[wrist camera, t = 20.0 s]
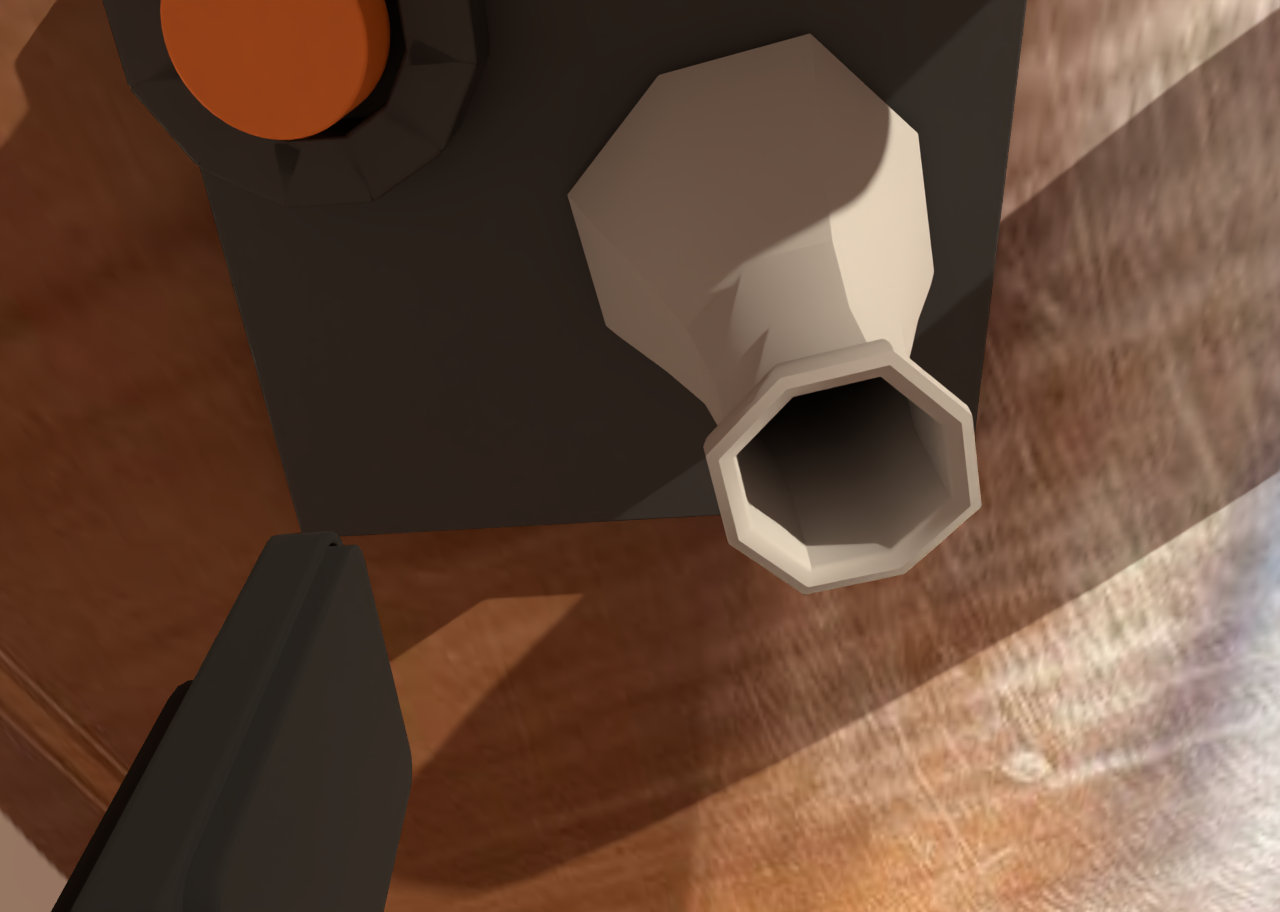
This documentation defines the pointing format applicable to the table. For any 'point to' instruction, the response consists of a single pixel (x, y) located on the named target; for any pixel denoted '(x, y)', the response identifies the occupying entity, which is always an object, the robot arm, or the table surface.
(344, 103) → the button
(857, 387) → the flask
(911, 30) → the scale
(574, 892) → the table surface
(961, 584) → the table surface
